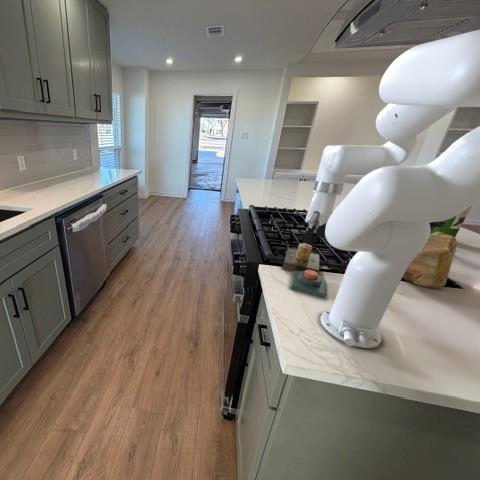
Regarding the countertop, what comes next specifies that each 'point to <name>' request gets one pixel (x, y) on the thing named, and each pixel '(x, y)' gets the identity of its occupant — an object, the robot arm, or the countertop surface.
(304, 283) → the button box
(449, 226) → the wine bottle
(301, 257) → the dial
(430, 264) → the rough brown rock
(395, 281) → the robot arm
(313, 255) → the dial panel
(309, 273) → the button
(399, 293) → the countertop surface
